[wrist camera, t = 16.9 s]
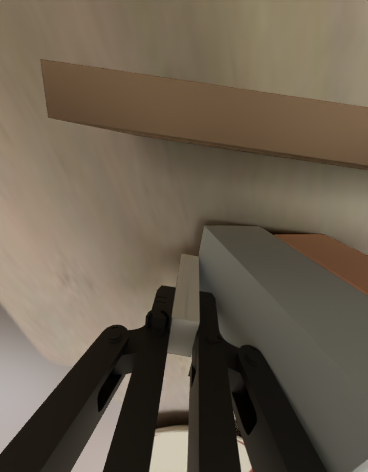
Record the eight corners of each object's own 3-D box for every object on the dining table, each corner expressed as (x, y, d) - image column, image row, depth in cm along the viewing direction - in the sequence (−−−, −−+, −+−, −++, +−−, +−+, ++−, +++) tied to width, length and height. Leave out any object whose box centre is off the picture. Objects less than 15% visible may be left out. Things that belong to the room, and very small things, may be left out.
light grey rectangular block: (204, 225, 15) (401, 432, 4) (259, 225, 16) (497, 379, 6) (189, 305, 18) (281, 526, 8) (235, 298, 20) (363, 477, 9)
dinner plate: (223, 387, 26) (227, 419, 23) (300, 469, 35) (310, 499, 32) (85, 430, 34) (75, 457, 31) (175, 488, 43) (174, 514, 39)
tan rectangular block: (274, 234, 15) (637, 462, 4) (322, 234, 16) (671, 401, 6) (246, 312, 18) (415, 546, 8) (288, 306, 20) (475, 492, 9)
